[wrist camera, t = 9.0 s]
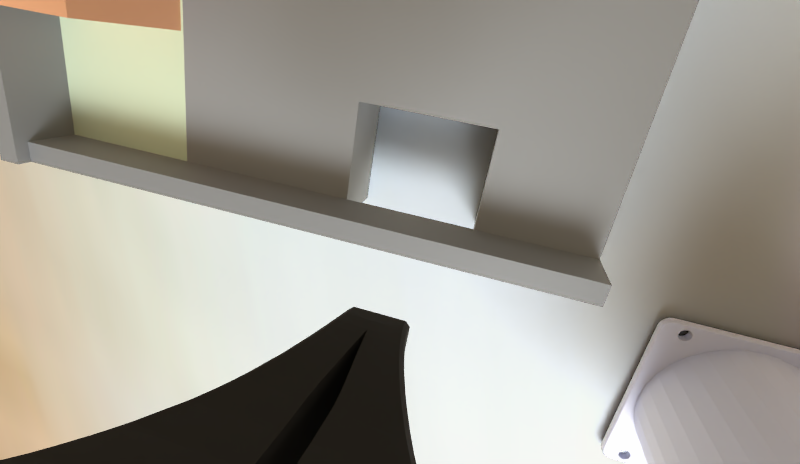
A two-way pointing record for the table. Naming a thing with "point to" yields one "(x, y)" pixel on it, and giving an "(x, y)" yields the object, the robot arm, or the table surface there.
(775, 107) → the table surface
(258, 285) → the table surface
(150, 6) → the block
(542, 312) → the table surface
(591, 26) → the board
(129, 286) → the table surface
